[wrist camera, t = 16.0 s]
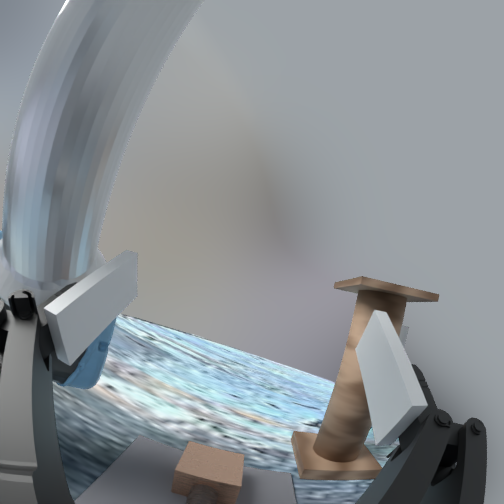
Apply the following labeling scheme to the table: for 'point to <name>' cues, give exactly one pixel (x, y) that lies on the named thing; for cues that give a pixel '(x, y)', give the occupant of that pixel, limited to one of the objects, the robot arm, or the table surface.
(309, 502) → the table surface
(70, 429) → the table surface
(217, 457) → the wooden mallet
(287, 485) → the rubber mat
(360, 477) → the bobbin stand
